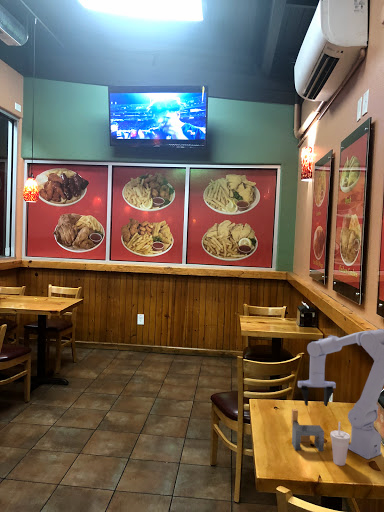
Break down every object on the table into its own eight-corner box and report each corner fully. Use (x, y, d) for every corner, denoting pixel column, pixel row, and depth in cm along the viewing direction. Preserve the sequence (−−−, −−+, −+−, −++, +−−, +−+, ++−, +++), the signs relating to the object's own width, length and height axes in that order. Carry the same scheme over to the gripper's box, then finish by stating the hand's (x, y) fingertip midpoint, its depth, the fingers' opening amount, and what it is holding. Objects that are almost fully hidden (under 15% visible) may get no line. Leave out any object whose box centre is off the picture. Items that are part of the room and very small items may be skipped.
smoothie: (325, 459, 139) (326, 419, 138) (339, 456, 142) (341, 416, 141) (338, 469, 133) (340, 427, 133) (353, 465, 136) (355, 424, 135)
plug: (309, 442, 151) (310, 426, 151) (298, 441, 151) (299, 425, 151) (298, 423, 167) (299, 408, 166) (288, 423, 167) (289, 408, 166)
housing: (323, 451, 145) (324, 431, 144) (295, 450, 145) (295, 431, 144) (319, 444, 150) (319, 425, 149) (291, 443, 150) (292, 424, 149)
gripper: (331, 368, 165) (330, 401, 166) (296, 367, 165) (295, 400, 166) (338, 374, 158) (336, 408, 159) (300, 373, 158) (299, 407, 159)
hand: (315, 405), depth 162 cm, fingers open, 7 cm apart
